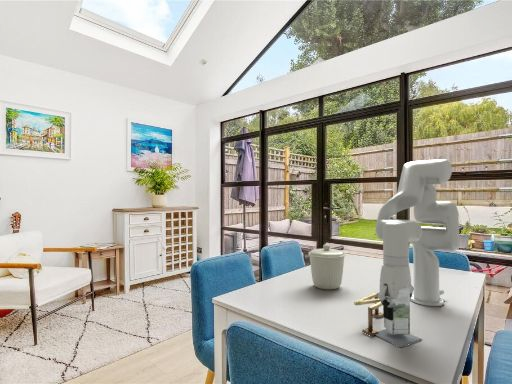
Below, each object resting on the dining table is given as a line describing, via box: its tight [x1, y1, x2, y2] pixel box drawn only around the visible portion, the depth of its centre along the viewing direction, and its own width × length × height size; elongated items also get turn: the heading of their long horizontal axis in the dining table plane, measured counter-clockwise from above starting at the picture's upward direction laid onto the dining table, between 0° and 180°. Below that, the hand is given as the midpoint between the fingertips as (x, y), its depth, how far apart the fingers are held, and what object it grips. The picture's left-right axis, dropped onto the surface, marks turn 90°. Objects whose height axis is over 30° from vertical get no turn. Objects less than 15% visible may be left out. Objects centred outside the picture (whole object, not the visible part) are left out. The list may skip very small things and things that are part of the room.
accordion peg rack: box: [353, 291, 384, 337], centre depth 108 cm, size 18×13×8 cm
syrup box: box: [383, 287, 411, 335], centre depth 98 cm, size 6×6×14 cm
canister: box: [307, 243, 347, 291], centre depth 152 cm, size 18×18×21 cm
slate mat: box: [375, 328, 422, 348], centre depth 97 cm, size 10×10×1 cm
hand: (396, 316), depth 98 cm, fingers closed on syrup box, 7 cm apart
